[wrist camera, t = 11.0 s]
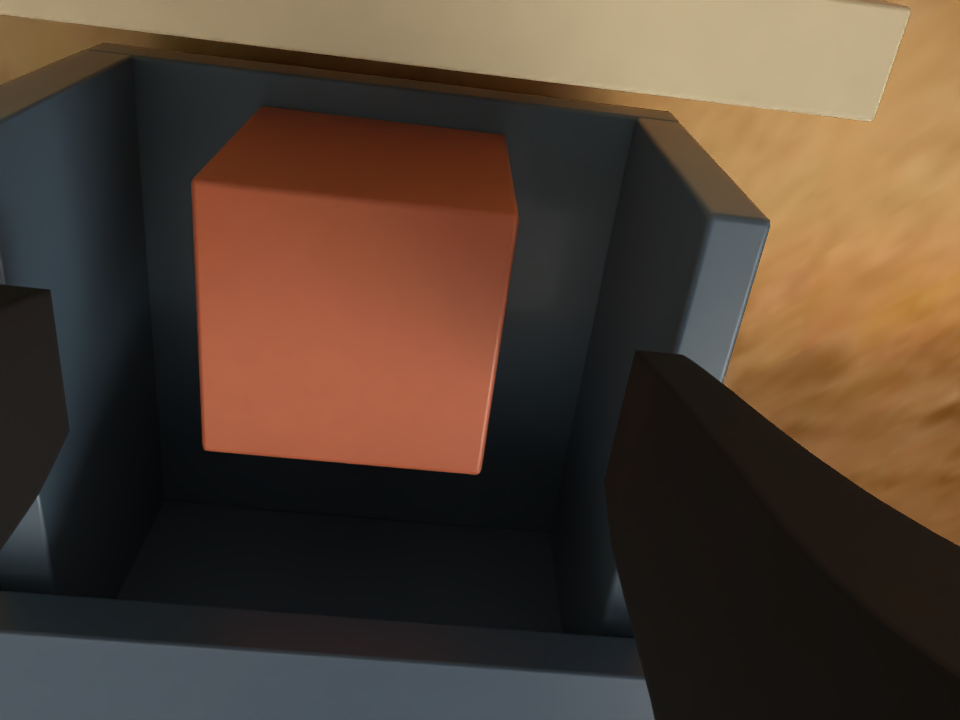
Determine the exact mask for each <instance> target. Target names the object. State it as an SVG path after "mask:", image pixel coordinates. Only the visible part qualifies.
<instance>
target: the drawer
mask: <svg viewBox="0 0 960 720" xmlns="http://www.w3.org/2000/svg"><path fill="white" fill-rule="evenodd" d="M0 14H1V15H9V16H17V17H25V18H33V19H41V20H49V21H57V22H65V23H74V24H82V25H90V26H98V27H106V28H114V29H122V30H130V31H138V32H147V33H155V34H163V35H171V36H179V37H187V38H195V39H203V40H211V41H219V42H228V43H236V44H244V45H252V46H260V47H268V48H276V49H284V50H292V51H300V52H309V53H317V54H325V55H333V56H341V57H349V58H357V59H365V60H373V61H381V62H390V63H398V64H406V65H414V66H422V67H430V68H438V69H446V70H454V71H462V72H471V73H479V74H487V75H495V76H503V77H511V78H519V79H527V80H535V81H543V82H552V83H560V84H568V85H576V86H584V87H592V88H600V89H608V90H616V91H624V92H633V93H641V94H649V95H657V96H665V97H673V98H681V99H689V100H697V101H705V102H714V103H722V104H730V105H738V106H746V107H754V108H762V109H770V110H778V111H786V112H795V113H803V114H811V115H819V116H827V117H835V118H843V119H851V120H859V121H867V122H868V121H873V119H874V118H875V115H876V112H877V109H878V107H879V104H880V101H881V98H882V95H883V92H884V89H885V86H886V83H887V80H888V77H889V74H890V71H891V68H892V66H893V63H894V60H895V57H896V54H897V51H898V48H899V45H900V42H901V39H902V36H903V33H904V30H905V28H906V25H907V22H908V19H909V16H910V8H908V7H907V6H903V5H899V4H895V3H891V2H887V1H884V0H0ZM263 106H265V107H273V108H282V109H290V110H299V111H307V112H316V113H324V114H333V115H341V116H349V117H358V118H366V119H375V120H383V121H392V122H400V123H409V124H417V125H425V126H434V127H442V128H451V129H459V130H468V131H476V132H485V133H493V134H501V135H503V136H505V139H506V144H507V150H508V156H509V162H510V168H511V174H512V180H513V186H514V192H515V198H516V204H517V210H518V216H519V224H518V231H517V237H516V244H515V251H514V257H513V264H512V271H511V277H510V284H509V291H508V297H507V304H506V310H505V317H504V324H503V330H502V337H501V344H500V350H499V357H498V364H497V370H496V377H495V383H494V390H493V397H492V403H491V410H490V417H489V423H488V430H487V437H486V443H485V450H484V456H483V463H482V469H481V471H480V473H479V474H476V475H473V474H462V473H451V472H439V471H428V470H417V469H406V468H394V467H383V466H372V465H361V464H349V463H338V462H327V461H316V460H304V459H293V458H282V457H271V456H259V455H248V454H237V453H225V452H214V451H207V450H204V448H203V445H202V425H201V402H200V379H199V356H198V333H197V310H196V287H195V265H194V242H193V219H192V196H191V182H192V180H193V178H194V177H195V176H196V175H197V174H198V173H199V172H200V171H201V170H202V169H203V168H204V166H205V165H206V164H207V163H208V162H209V161H210V160H211V159H212V158H213V157H214V156H215V155H216V154H217V153H218V152H219V151H220V149H221V148H222V147H223V146H224V145H225V144H226V143H227V142H228V141H229V140H230V139H231V138H232V137H233V136H234V135H235V134H236V132H237V131H238V130H239V129H240V128H241V127H242V126H243V125H244V124H245V123H246V122H247V121H248V120H249V119H250V118H251V117H252V115H253V114H254V113H255V112H256V111H257V110H258V109H259V108H260V107H263ZM769 228H770V220H769V219H768V218H767V217H766V216H765V215H764V214H763V213H762V212H761V211H760V210H759V208H758V207H757V206H756V205H755V204H754V203H753V202H752V201H751V200H750V199H749V198H748V197H747V195H746V194H745V193H744V192H743V191H742V190H741V189H740V188H739V187H738V186H737V185H736V184H735V182H734V181H733V180H732V179H731V178H730V177H729V176H728V175H727V174H726V173H725V172H724V171H723V170H722V168H721V167H720V166H719V165H718V164H717V163H716V162H715V161H714V160H713V159H712V158H711V157H710V155H709V154H708V153H707V152H706V151H705V150H704V149H703V148H702V147H701V146H700V145H699V144H698V142H697V141H696V140H695V139H694V138H693V137H692V136H691V135H690V134H689V133H688V132H687V131H686V129H685V128H684V127H683V126H682V125H681V124H679V121H678V120H677V119H676V118H675V117H674V116H673V115H672V114H671V113H670V112H668V111H660V110H652V109H644V108H635V107H627V106H619V105H611V104H603V103H595V102H586V101H578V100H570V99H562V98H554V97H545V96H537V95H529V94H521V93H513V92H504V91H496V90H488V89H480V88H472V87H464V86H455V85H447V84H439V83H431V82H423V81H414V80H406V79H398V78H390V77H382V76H374V75H365V74H357V73H349V72H341V71H333V70H324V69H316V68H308V67H300V66H292V65H283V64H275V63H267V62H259V61H251V60H243V59H234V58H226V57H218V56H210V55H202V54H193V53H185V52H177V51H169V50H161V49H153V48H144V47H136V46H128V45H120V44H112V43H101V44H98V45H96V46H94V47H91V48H89V49H86V50H83V51H80V52H78V53H75V54H73V55H71V56H68V57H66V58H63V59H61V60H59V61H56V62H54V63H52V64H49V65H47V66H44V67H42V68H40V69H37V70H35V71H32V72H30V73H28V74H25V75H23V76H21V77H18V78H16V79H13V80H11V81H9V82H6V83H4V84H2V85H0V284H2V285H12V286H22V287H31V288H41V289H51V296H52V304H53V311H54V319H55V326H56V333H57V341H58V348H59V356H60V363H61V370H62V378H63V385H64V393H65V400H66V408H67V415H68V422H69V430H70V431H69V433H68V435H67V437H66V440H65V442H64V444H63V446H62V448H61V450H60V452H59V455H58V457H57V459H56V461H55V463H54V465H53V467H52V469H51V471H50V473H49V475H48V477H47V479H46V481H45V483H44V485H43V487H42V489H41V491H40V493H39V495H38V497H37V498H36V500H35V501H34V503H33V504H32V506H31V507H30V509H29V510H28V512H27V513H26V515H25V516H24V517H23V519H22V520H21V522H20V523H19V525H18V526H17V528H16V529H15V530H14V532H13V533H12V535H11V536H10V538H9V539H8V541H7V542H6V544H5V545H4V546H3V548H2V549H1V551H0V582H1V587H2V590H4V591H17V592H30V593H43V594H57V595H70V596H83V597H96V598H109V599H123V600H136V601H149V602H162V603H175V604H188V605H202V606H215V607H228V608H241V609H254V610H268V611H281V612H294V613H307V614H320V615H334V616H347V617H360V618H373V619H386V620H400V621H413V622H426V623H439V624H452V625H465V626H479V627H492V628H505V629H518V630H531V631H545V632H558V633H571V634H584V635H597V636H611V637H624V638H634V634H633V631H632V627H631V623H630V619H629V615H628V611H627V607H626V603H625V600H624V596H623V592H622V588H621V584H620V580H619V576H618V572H617V568H616V564H615V559H614V555H613V551H612V547H611V539H610V531H609V523H608V514H607V503H606V493H605V482H604V479H605V475H606V471H607V467H608V462H609V458H610V454H611V450H612V446H613V441H614V437H615V433H616V429H617V425H618V421H619V416H620V412H621V408H622V404H623V400H624V396H625V391H626V387H627V383H628V379H629V375H630V370H631V366H632V362H633V358H634V354H635V350H642V351H652V352H661V353H671V354H681V355H684V356H686V357H687V358H689V359H691V360H692V361H694V362H695V363H696V364H698V365H699V366H701V367H702V368H703V369H705V370H706V371H707V372H709V373H710V374H711V375H712V376H714V377H715V378H716V379H717V380H719V381H720V382H721V383H722V384H723V381H724V377H725V374H726V371H727V367H728V364H729V361H730V358H731V354H732V351H733V348H734V344H735V341H736V338H737V334H738V331H739V328H740V324H741V321H742V318H743V314H744V311H745V308H746V304H747V301H748V298H749V294H750V291H751V288H752V285H753V281H754V278H755V275H756V271H757V268H758V265H759V261H760V258H761V255H762V251H763V248H764V245H765V241H766V238H767V235H768V231H769Z"/></svg>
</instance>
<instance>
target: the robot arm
mask: <svg viewBox="0 0 960 720" xmlns="http://www.w3.org/2000/svg"><path fill="white" fill-rule="evenodd" d="M69 431H70V430H69V422H68V415H67V408H66V400H65V393H64V385H63V378H62V370H61V363H60V356H59V348H58V341H57V333H56V326H55V319H54V311H53V304H52V296H51V289H41V288H31V287H22V286H12V285H2V284H0V551H1V549H2V548H3V546H4V545H5V544H6V542H7V541H8V539H9V538H10V536H11V535H12V533H13V532H14V530H15V529H16V528H17V526H18V525H19V523H20V522H21V520H22V519H23V517H24V516H25V515H26V513H27V512H28V510H29V509H30V507H31V506H32V504H33V503H34V501H35V500H36V498H37V497H38V495H39V493H40V491H41V489H42V487H43V485H44V483H45V481H46V479H47V477H48V475H49V473H50V471H51V469H52V467H53V465H54V463H55V461H56V459H57V457H58V455H59V452H60V450H61V448H62V446H63V444H64V442H65V440H66V437H67V435H68V433H69ZM604 482H605V493H606V503H607V514H608V523H609V531H610V539H611V547H612V551H613V555H614V559H615V564H616V568H617V572H618V576H619V580H620V584H621V588H622V592H623V596H624V600H625V603H626V607H627V611H628V615H629V619H630V623H631V627H632V631H633V634H634V638H635V642H636V646H637V650H638V654H639V658H640V661H641V665H642V669H643V673H644V677H645V681H646V685H647V689H648V692H649V696H650V700H651V705H652V710H653V715H654V719H655V720H960V546H958V545H956V544H954V543H952V542H951V541H949V540H947V539H945V538H943V537H941V536H939V535H938V534H936V533H934V532H932V531H931V530H929V529H927V528H926V527H924V526H922V525H921V524H919V523H917V522H916V521H914V520H912V519H911V518H909V517H907V516H906V515H904V514H902V513H900V512H899V511H897V510H895V509H894V508H892V507H890V506H889V505H887V504H885V503H884V502H882V501H880V500H879V499H877V498H876V497H874V496H873V495H871V494H870V493H868V492H866V491H865V490H863V489H862V488H860V487H859V486H857V485H856V484H854V483H853V482H851V481H850V480H849V479H847V478H846V477H844V476H843V475H841V474H840V473H839V472H837V471H836V470H834V469H833V468H831V467H830V466H829V465H827V464H826V463H824V462H823V461H822V460H820V459H819V458H817V457H816V456H814V455H813V454H812V453H810V452H809V451H808V450H806V449H805V448H804V447H802V446H801V445H800V444H798V443H797V442H796V441H794V440H793V439H792V438H790V437H789V436H788V435H786V434H785V433H784V432H783V431H781V430H780V429H779V428H777V427H776V426H775V425H774V424H772V423H771V422H770V421H768V420H767V419H766V418H765V417H763V416H762V415H761V414H760V413H758V412H757V411H756V410H755V409H753V408H752V407H751V406H750V405H748V404H747V403H746V402H745V401H744V400H742V399H741V398H740V397H739V396H737V395H736V394H735V393H734V392H732V391H731V390H730V389H729V388H727V387H726V386H725V385H724V384H722V383H721V382H720V381H719V380H717V379H716V378H715V377H714V376H712V375H711V374H710V373H709V372H707V371H706V370H705V369H703V368H702V367H701V366H699V365H698V364H696V363H695V362H694V361H692V360H691V359H689V358H687V357H686V356H684V355H681V354H671V353H661V352H652V351H642V350H635V354H634V358H633V362H632V366H631V370H630V375H629V379H628V383H627V387H626V391H625V396H624V400H623V404H622V408H621V412H620V416H619V421H618V425H617V429H616V433H615V437H614V441H613V446H612V450H611V454H610V458H609V462H608V467H607V471H606V475H605V479H604Z"/></svg>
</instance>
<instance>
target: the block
mask: <svg viewBox="0 0 960 720" xmlns="http://www.w3.org/2000/svg"><path fill="white" fill-rule="evenodd" d="M191 196H192V219H193V242H194V265H195V287H196V310H197V333H198V356H199V379H200V402H201V425H202V445H203V448H204V450H207V451H214V452H225V453H237V454H248V455H259V456H271V457H282V458H293V459H304V460H316V461H327V462H338V463H349V464H361V465H372V466H383V467H394V468H406V469H417V470H428V471H439V472H451V473H462V474H473V475H476V474H479V473H480V471H481V469H482V463H483V456H484V450H485V443H486V437H487V430H488V423H489V417H490V410H491V403H492V397H493V390H494V383H495V377H496V370H497V364H498V357H499V350H500V344H501V337H502V330H503V324H504V317H505V310H506V304H507V297H508V291H509V284H510V277H511V271H512V264H513V257H514V251H515V244H516V237H517V231H518V224H519V216H518V210H517V204H516V198H515V192H514V186H513V180H512V174H511V168H510V162H509V156H508V150H507V144H506V139H505V136H503V135H501V134H493V133H485V132H476V131H468V130H459V129H451V128H442V127H434V126H425V125H417V124H409V123H400V122H392V121H383V120H375V119H366V118H358V117H349V116H341V115H333V114H324V113H316V112H307V111H299V110H290V109H282V108H273V107H265V106H263V107H260V108H259V109H258V110H257V111H256V112H255V113H254V114H253V115H252V117H251V118H250V119H249V120H248V121H247V122H246V123H245V124H244V125H243V126H242V127H241V128H240V129H239V130H238V131H237V132H236V134H235V135H234V136H233V137H232V138H231V139H230V140H229V141H228V142H227V143H226V144H225V145H224V146H223V147H222V148H221V149H220V151H219V152H218V153H217V154H216V155H215V156H214V157H213V158H212V159H211V160H210V161H209V162H208V163H207V164H206V165H205V166H204V168H203V169H202V170H201V171H200V172H199V173H198V174H197V175H196V176H195V177H194V178H193V180H192V182H191Z"/></svg>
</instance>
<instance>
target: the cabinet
mask: <svg viewBox="0 0 960 720" xmlns="http://www.w3.org/2000/svg"><path fill="white" fill-rule="evenodd" d="M0 720H655V719H654V715H653V710H652V705H651V700H650V696H649V692H648V689H647V685H646V681H645V677H644V673H643V669H642V665H641V661H640V658H639V654H638V650H637V646H636V642H635V638H624V637H611V636H597V635H584V634H571V633H558V632H545V631H531V630H518V629H505V628H492V627H479V626H465V625H452V624H439V623H426V622H413V621H400V620H386V619H373V618H360V617H347V616H334V615H320V614H307V613H294V612H281V611H268V610H254V609H241V608H228V607H215V606H202V605H188V604H175V603H162V602H149V601H136V600H123V599H109V598H96V597H83V596H70V595H57V594H43V593H30V592H17V591H4V590H2V587H1V582H0Z"/></svg>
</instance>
